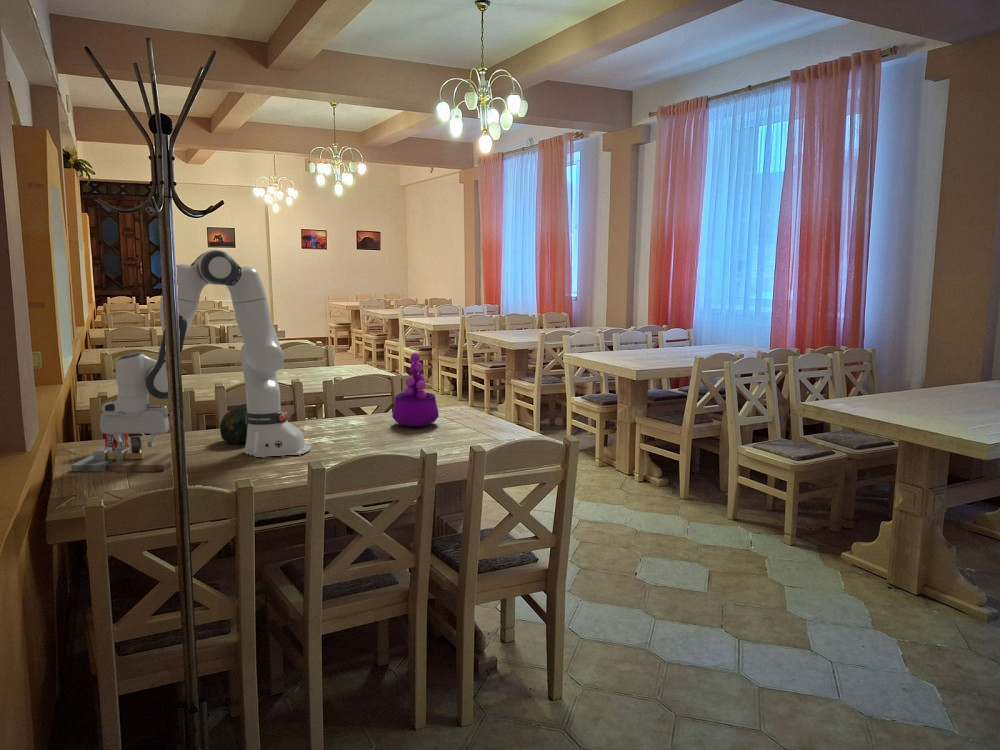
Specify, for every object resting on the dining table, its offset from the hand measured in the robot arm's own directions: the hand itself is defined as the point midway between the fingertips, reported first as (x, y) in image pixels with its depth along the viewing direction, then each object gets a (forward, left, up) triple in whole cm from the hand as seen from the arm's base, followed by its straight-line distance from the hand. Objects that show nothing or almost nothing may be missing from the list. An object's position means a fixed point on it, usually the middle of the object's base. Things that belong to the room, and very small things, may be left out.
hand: (136, 446), depth 227 cm
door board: (+3, 0, -6) cm, 7 cm away
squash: (-24, -31, -6) cm, 40 cm away
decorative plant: (-86, -57, -6) cm, 103 cm away
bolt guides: (+8, 0, -4) cm, 9 cm away
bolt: (+6, 0, -4) cm, 7 cm away
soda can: (+14, -17, -6) cm, 23 cm away
